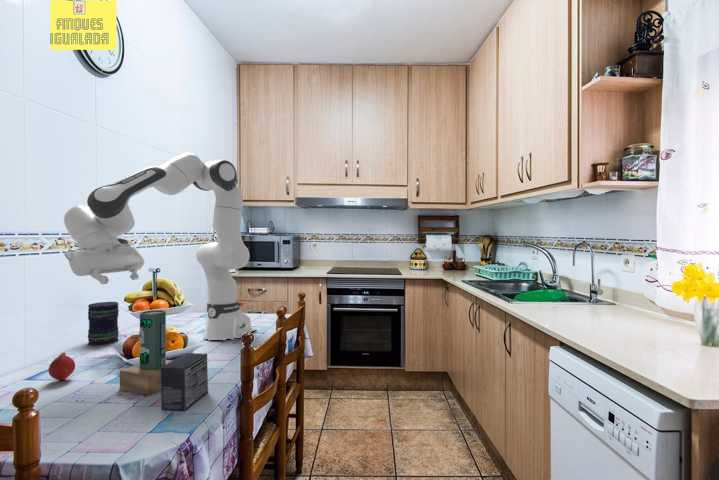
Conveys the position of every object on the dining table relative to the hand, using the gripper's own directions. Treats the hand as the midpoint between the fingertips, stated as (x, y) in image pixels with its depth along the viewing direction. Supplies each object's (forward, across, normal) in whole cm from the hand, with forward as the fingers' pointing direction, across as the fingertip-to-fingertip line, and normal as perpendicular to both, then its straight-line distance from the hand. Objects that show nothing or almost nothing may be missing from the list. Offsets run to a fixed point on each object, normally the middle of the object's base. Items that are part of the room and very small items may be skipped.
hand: (121, 280), depth 110 cm
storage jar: (-6, +18, +46) cm, 50 cm away
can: (+29, -4, +4) cm, 29 cm away
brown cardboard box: (+32, -4, +7) cm, 33 cm away
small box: (+44, -8, -5) cm, 45 cm away
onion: (+14, -12, +26) cm, 31 cm away
